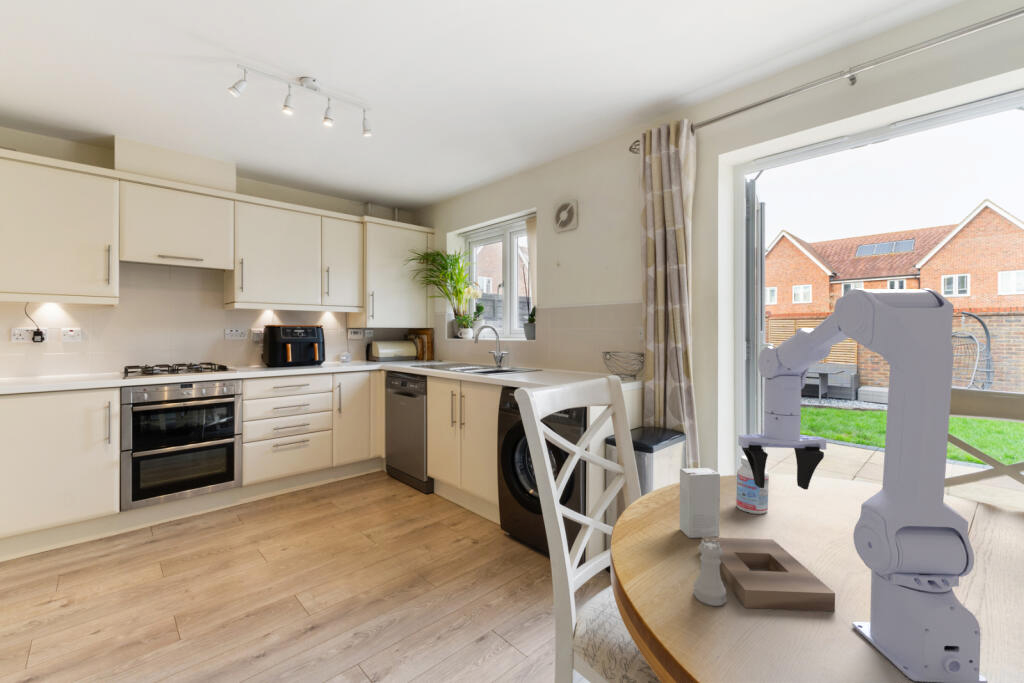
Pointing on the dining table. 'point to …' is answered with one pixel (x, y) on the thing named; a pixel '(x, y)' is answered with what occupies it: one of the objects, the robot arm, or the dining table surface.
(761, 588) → the socket board
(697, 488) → the skincare box
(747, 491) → the pill bottle
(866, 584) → the dining table surface
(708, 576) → the rook chess piece
